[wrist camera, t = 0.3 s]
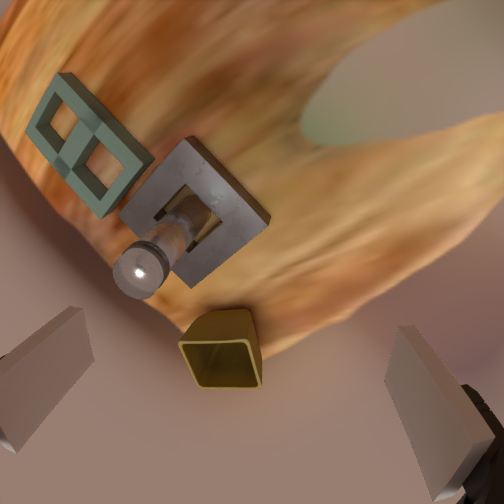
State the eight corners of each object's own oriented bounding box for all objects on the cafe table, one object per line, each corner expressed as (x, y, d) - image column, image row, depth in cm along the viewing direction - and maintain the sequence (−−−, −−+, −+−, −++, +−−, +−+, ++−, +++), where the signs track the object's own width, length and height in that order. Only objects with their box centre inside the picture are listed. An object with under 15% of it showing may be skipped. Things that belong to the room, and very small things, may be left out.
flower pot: (259, 294, 42) (248, 340, 34) (270, 343, 46) (262, 390, 38) (197, 299, 44) (176, 341, 36) (213, 345, 48) (198, 389, 40)
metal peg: (194, 187, 37) (128, 244, 23) (218, 212, 38) (168, 283, 24) (172, 209, 38) (103, 273, 24) (195, 233, 39) (139, 308, 25)
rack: (71, 72, 32) (56, 72, 29) (154, 159, 36) (143, 164, 33) (38, 128, 36) (24, 131, 33) (112, 211, 40) (100, 219, 37)
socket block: (193, 135, 34) (184, 138, 31) (270, 216, 37) (268, 226, 34) (129, 207, 39) (117, 215, 37) (198, 276, 42) (191, 288, 40)
